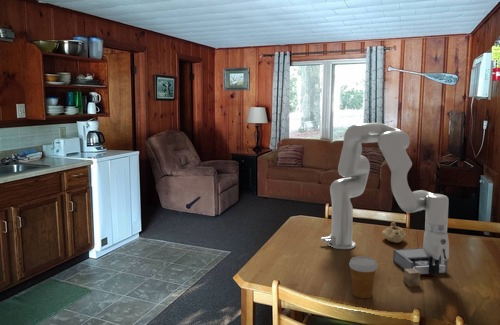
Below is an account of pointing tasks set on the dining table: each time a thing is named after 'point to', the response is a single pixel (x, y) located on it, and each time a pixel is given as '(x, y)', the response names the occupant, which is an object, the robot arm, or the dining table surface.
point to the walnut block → (412, 277)
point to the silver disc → (420, 262)
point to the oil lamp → (394, 233)
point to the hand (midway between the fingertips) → (433, 273)
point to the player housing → (410, 257)
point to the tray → (426, 269)
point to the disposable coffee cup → (363, 275)
